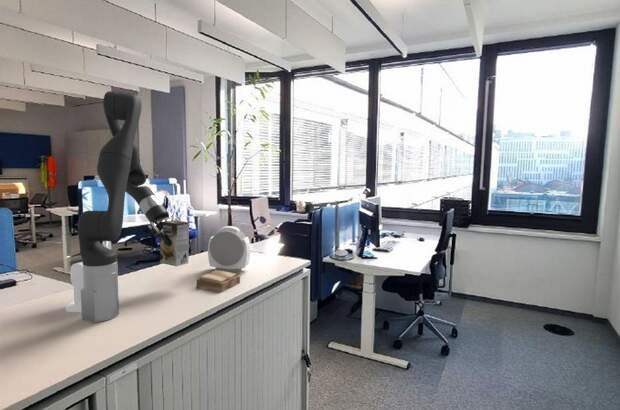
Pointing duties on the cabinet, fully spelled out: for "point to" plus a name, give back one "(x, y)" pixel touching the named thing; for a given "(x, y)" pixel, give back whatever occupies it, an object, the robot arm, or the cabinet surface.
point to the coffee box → (175, 243)
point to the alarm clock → (229, 250)
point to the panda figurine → (76, 285)
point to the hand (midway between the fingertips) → (177, 243)
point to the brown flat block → (218, 280)
